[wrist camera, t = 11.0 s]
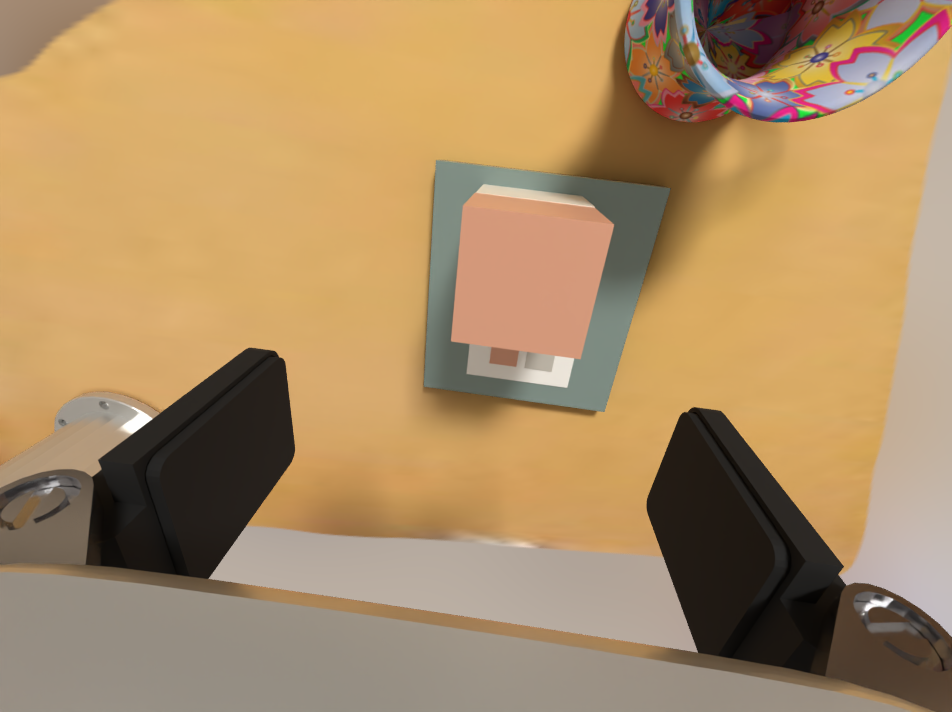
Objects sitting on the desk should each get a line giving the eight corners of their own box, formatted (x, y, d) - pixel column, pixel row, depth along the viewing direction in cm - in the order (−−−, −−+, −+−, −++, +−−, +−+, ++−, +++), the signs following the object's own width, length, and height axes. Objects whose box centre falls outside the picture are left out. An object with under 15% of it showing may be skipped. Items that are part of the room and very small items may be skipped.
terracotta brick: (569, 318, 24) (580, 359, 19) (464, 304, 24) (450, 341, 19) (594, 207, 21) (614, 224, 16) (475, 192, 21) (462, 205, 17)
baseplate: (601, 403, 33) (621, 465, 27) (426, 378, 33) (404, 434, 27) (664, 186, 26) (712, 200, 19) (439, 159, 26) (413, 164, 20)
